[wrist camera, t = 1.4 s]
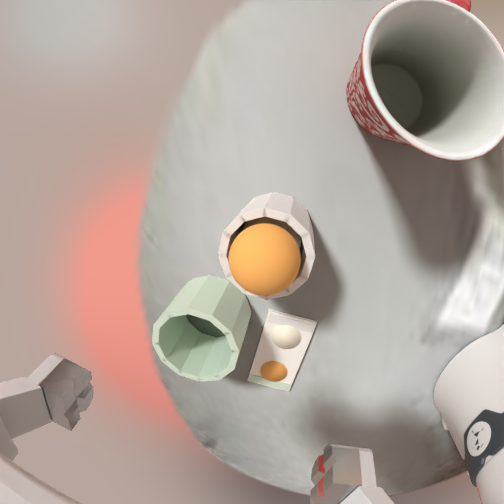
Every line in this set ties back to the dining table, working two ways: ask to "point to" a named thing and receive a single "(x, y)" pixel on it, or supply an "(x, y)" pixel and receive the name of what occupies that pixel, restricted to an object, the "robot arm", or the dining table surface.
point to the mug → (430, 79)
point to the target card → (281, 349)
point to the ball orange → (264, 259)
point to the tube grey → (283, 215)
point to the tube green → (199, 344)
